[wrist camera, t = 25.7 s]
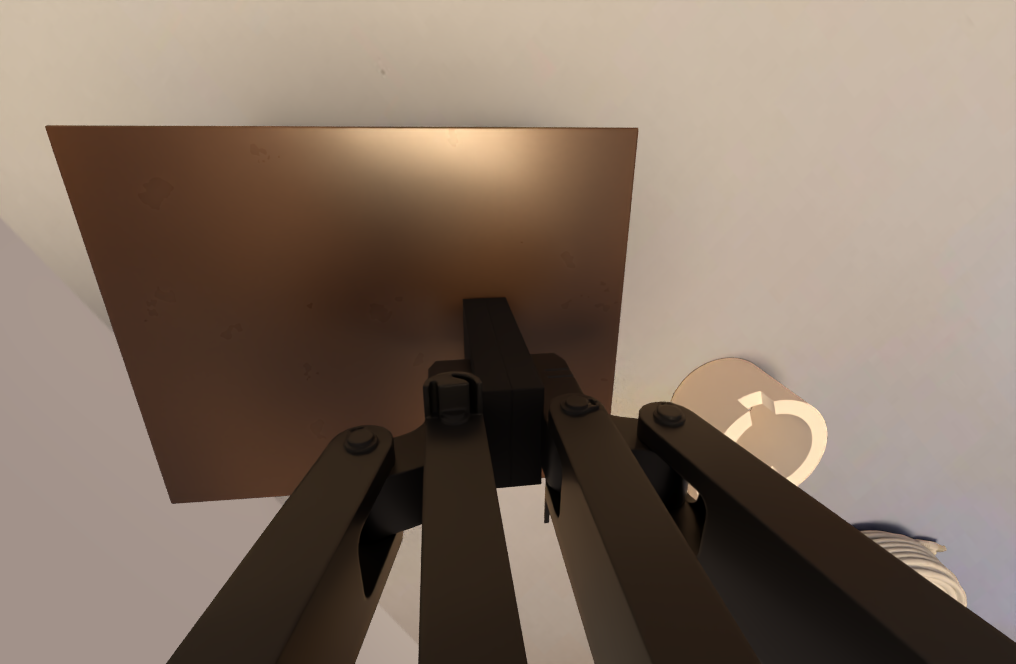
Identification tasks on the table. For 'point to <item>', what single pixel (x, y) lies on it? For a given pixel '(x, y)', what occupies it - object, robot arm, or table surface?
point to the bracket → (756, 415)
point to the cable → (920, 560)
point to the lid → (336, 274)
